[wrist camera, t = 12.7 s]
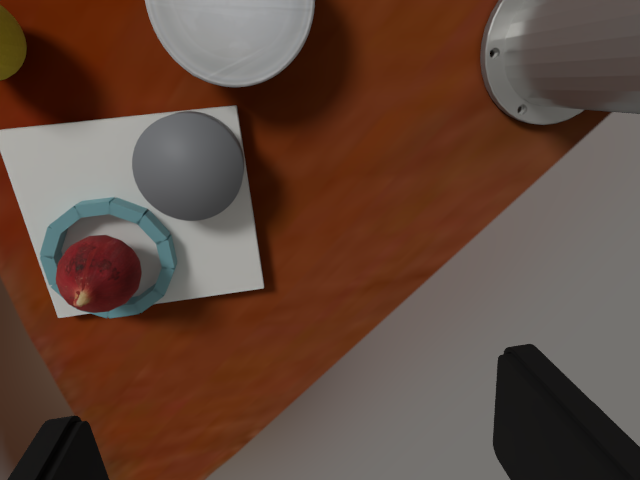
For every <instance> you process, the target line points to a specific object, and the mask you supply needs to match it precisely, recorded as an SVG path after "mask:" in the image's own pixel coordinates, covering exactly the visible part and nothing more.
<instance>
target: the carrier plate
mask: <svg viewBox="0 0 640 480" xmlns="http://www.w3.org/2000/svg"><path fill="white" fill-rule="evenodd" d="M0 152H1V154H2V157H3V160H4V163H5V166H6V169H7V172H8V175H9V178H10V180H11V183H12V186H13V189H14V192H15V195H16V198H17V201H18V204H19V206H20V209H21V212H22V215H23V218H24V221H25V224H26V227H27V230H28V232H29V235H30V238H31V241H32V244H33V247H34V250H35V253H36V256H37V258H38V261H39V264H40V267H41V270H42V273H43V276H44V279H45V281H46V284H47V287H48V290H49V293H50V296H51V299H52V302H53V305H54V307H55V310H56V313H57V316H58V318H62V317H69V316H76V315H83V314H90V313H91V312H86V311H81V310H78V309H77V308H75V307H73V306H71V305H69V304H68V303H67V302H66V301H65V299H64V298H63V297H62V296H61V294H60V292H59V289H58V286H57V284H56V272H57V266H58V262H59V261H60V259H61V258H62V256H63V255H64V253H65V252H66V250H67V249H68V248H69V247H70V246H71V245H73V244H74V243H76V242H78V241H80V240H82V239H84V238H86V237H88V236H96V235H108V236H111V237H113V238H116V239H119V240H122V241H123V242H124V243H126V244H127V245H128V246H129V247H131V248H132V249H133V250H134V252H135V253H136V255H137V257H138V258H139V260H140V264H141V270H142V275H141V280H140V284H139V288H138V290H137V291H136V292H135V294H134V295H133V296H132V297H131V298H130V299H129V300H128V301H127V303H126V304H123V305H121V306H119V307H117V308H115V309H113V310H111V311H108V312H99V313H91V314H94V315H97V316H101V317H104V318H107V317H109V318H116V317H122V316H129V315H136V314H139V313H142V312H143V311H145V310H146V309H147V308H149V307H150V306H152V305H153V304H159V303H166V302H173V301H180V300H187V299H194V298H201V297H207V296H214V295H221V294H228V293H235V292H242V291H249V290H256V289H263V288H264V280H263V273H262V267H261V260H260V254H259V247H258V241H257V234H256V227H255V221H254V214H253V208H252V201H251V195H250V188H249V182H248V175H247V169H246V162H245V156H244V149H243V143H242V136H241V130H240V123H239V116H238V110H237V105H234V106H224V107H214V108H205V109H195V110H185V111H176V112H166V113H156V114H147V115H137V116H128V117H118V118H108V119H99V120H89V121H79V122H70V123H60V124H50V125H41V126H31V127H22V128H12V129H3V130H0Z"/></svg>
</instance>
